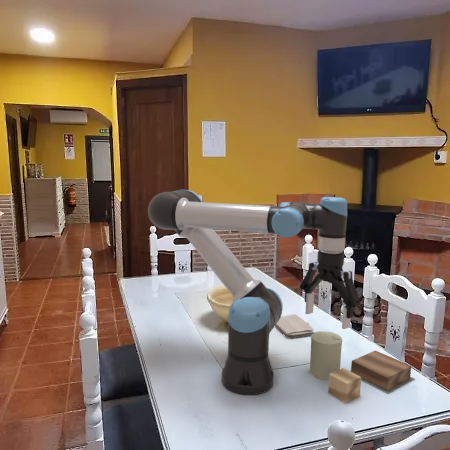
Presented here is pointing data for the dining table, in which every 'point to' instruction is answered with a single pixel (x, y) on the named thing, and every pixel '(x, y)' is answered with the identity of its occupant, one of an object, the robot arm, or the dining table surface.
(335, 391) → the cube
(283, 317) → the washcloth
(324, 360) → the can
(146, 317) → the dining table surface
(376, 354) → the slab
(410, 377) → the mat
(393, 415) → the dining table surface
